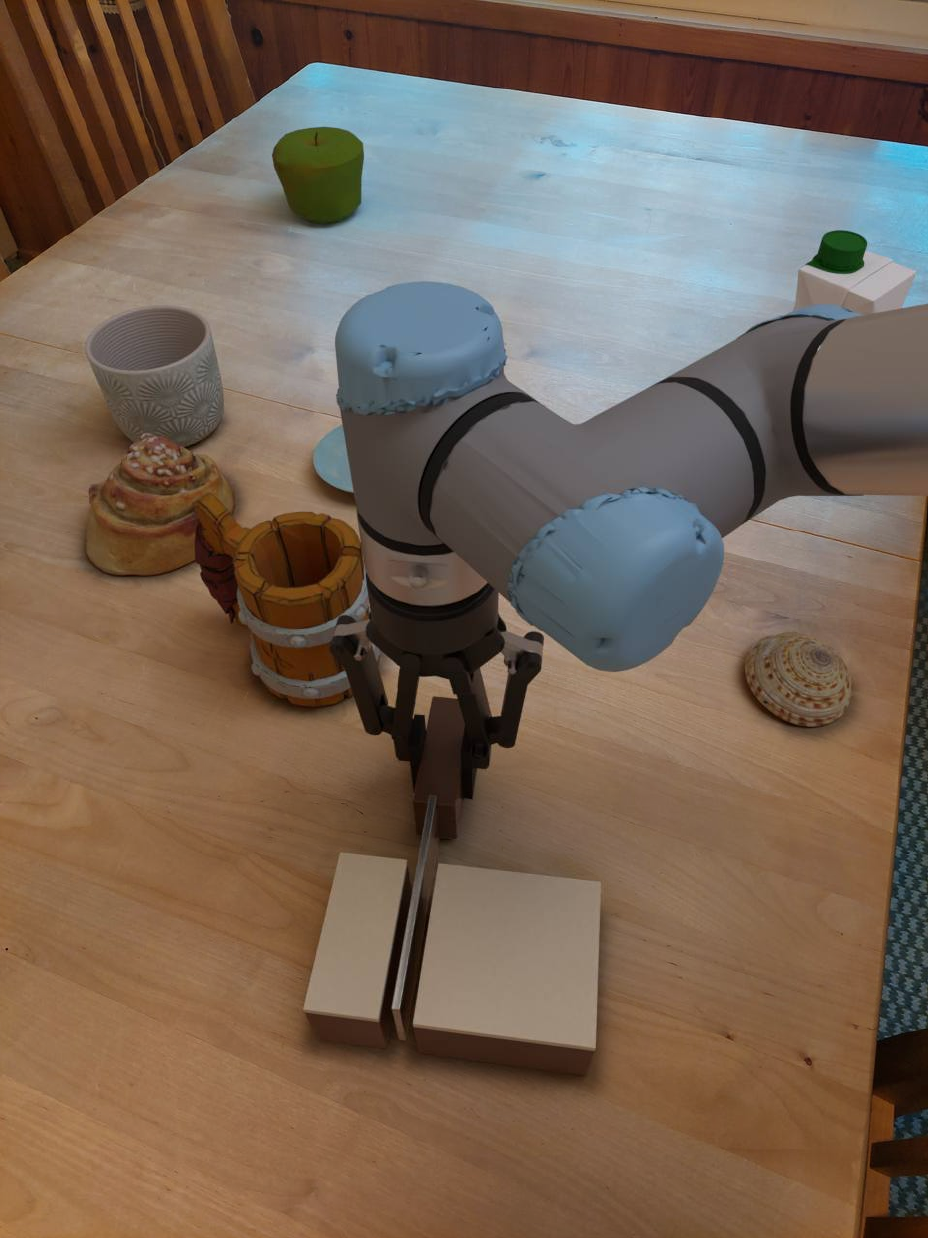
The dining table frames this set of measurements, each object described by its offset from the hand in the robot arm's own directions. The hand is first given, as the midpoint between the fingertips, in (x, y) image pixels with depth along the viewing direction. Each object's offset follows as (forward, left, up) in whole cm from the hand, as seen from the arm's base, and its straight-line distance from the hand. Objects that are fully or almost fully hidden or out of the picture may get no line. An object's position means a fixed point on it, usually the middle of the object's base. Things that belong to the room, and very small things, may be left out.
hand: (445, 780), depth 68 cm
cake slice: (-14, +3, -1) cm, 14 cm away
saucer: (+36, +13, -1) cm, 38 cm away
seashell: (+13, -27, -1) cm, 30 cm away
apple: (+92, +31, -1) cm, 97 cm away
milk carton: (+48, -32, -1) cm, 58 cm away
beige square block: (-14, -6, -1) cm, 15 cm away
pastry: (+26, +32, -1) cm, 41 cm away
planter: (+41, +36, -1) cm, 54 cm away
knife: (-7, 0, -1) cm, 7 cm away
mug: (+12, +15, -1) cm, 19 cm away
